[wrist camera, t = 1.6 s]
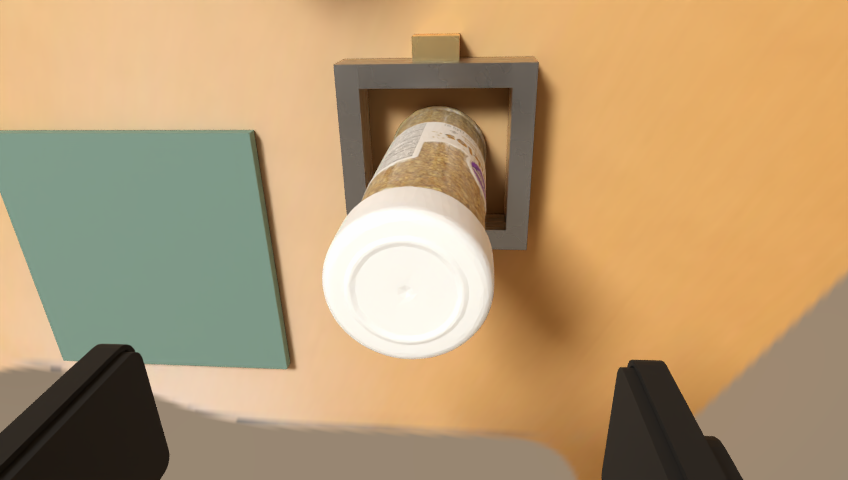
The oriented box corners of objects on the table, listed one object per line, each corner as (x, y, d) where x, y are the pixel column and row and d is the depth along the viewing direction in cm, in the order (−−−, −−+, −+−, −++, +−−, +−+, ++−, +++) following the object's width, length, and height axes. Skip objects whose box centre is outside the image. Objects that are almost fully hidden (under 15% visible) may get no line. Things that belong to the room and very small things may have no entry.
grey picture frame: (342, 35, 24) (331, 39, 22) (535, 32, 23) (540, 36, 21) (359, 247, 28) (351, 265, 27) (521, 250, 28) (525, 268, 26)
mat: (-13, 130, 27) (-22, 133, 27) (253, 130, 26) (249, 133, 26) (70, 354, 33) (63, 360, 33) (290, 362, 32) (287, 369, 32)
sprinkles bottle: (504, 162, 26) (530, 316, 14) (427, 211, 27) (389, 391, 15) (449, 82, 24) (424, 175, 12) (372, 138, 26) (281, 272, 14)
